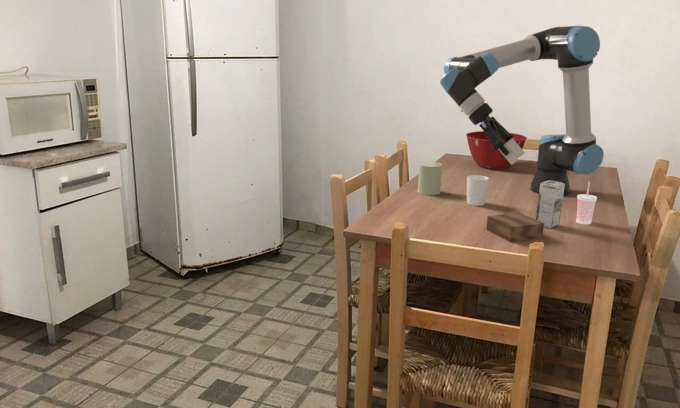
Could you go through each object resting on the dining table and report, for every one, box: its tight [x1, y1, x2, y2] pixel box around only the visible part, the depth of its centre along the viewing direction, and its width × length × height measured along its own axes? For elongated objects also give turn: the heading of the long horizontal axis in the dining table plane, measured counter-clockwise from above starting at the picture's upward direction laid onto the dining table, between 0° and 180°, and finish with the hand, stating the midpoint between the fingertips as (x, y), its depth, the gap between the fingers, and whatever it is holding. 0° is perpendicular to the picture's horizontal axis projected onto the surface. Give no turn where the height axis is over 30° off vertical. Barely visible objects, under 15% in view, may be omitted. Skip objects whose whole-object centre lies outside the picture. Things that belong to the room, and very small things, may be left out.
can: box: [417, 161, 443, 196], centre depth 221 cm, size 9×9×12 cm
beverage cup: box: [575, 181, 598, 225], centre depth 184 cm, size 6×6×14 cm
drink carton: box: [535, 180, 565, 229], centre depth 180 cm, size 6×6×14 cm
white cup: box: [466, 174, 490, 207], centre depth 206 cm, size 8×8×10 cm
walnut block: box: [485, 212, 545, 243], centre depth 173 cm, size 12×12×5 cm
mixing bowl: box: [465, 130, 528, 170], centre depth 271 cm, size 28×28×16 cm
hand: (518, 158), depth 181 cm, fingers open, 13 cm apart
